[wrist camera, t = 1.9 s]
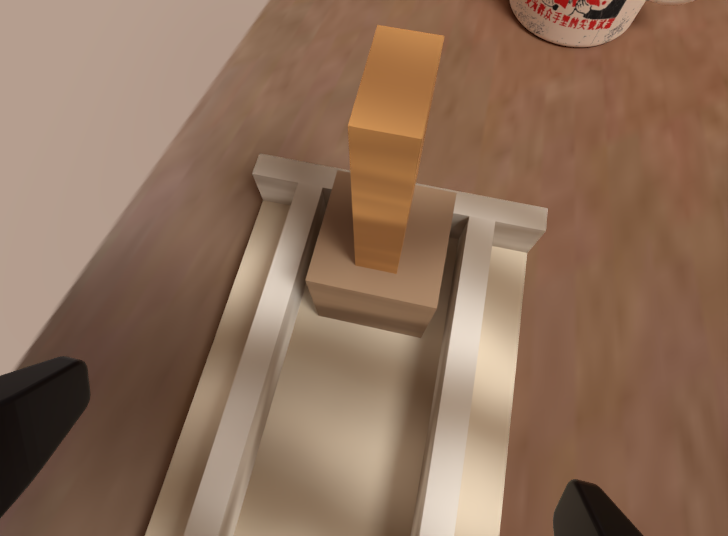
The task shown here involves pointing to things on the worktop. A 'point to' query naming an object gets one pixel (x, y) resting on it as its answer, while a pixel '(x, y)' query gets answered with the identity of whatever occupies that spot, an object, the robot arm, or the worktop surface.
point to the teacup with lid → (580, 19)
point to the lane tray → (353, 387)
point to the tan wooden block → (386, 198)
